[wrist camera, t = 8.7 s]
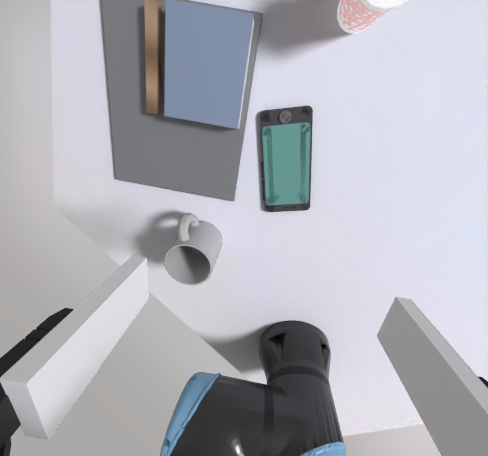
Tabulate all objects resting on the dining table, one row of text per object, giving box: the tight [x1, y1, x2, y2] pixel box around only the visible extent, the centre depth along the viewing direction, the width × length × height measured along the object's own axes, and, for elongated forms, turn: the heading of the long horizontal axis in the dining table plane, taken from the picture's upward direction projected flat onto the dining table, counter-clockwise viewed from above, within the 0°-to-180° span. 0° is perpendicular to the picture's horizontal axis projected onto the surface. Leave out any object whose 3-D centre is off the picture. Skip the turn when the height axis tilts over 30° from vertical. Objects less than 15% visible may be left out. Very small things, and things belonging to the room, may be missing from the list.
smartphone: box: [260, 106, 313, 212], centre depth 35 cm, size 7×1×15 cm
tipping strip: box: [144, 0, 162, 114], centre depth 30 cm, size 12×2×2 cm, turn 171°
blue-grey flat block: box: [164, 0, 254, 129], centre depth 29 cm, size 12×2×10 cm
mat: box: [101, 0, 262, 201], centre depth 33 cm, size 24×20×1 cm
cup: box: [164, 213, 222, 285], centre depth 37 cm, size 7×10×9 cm
